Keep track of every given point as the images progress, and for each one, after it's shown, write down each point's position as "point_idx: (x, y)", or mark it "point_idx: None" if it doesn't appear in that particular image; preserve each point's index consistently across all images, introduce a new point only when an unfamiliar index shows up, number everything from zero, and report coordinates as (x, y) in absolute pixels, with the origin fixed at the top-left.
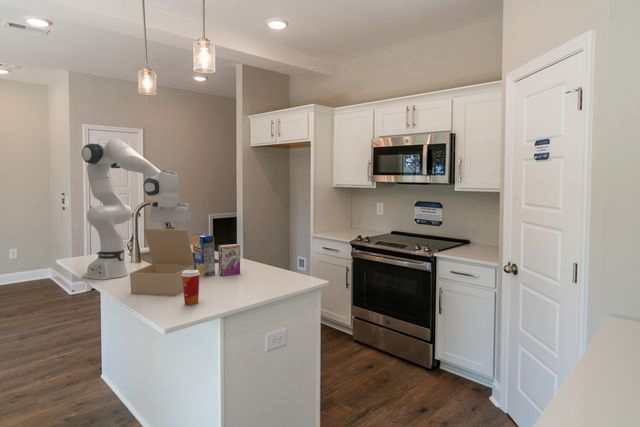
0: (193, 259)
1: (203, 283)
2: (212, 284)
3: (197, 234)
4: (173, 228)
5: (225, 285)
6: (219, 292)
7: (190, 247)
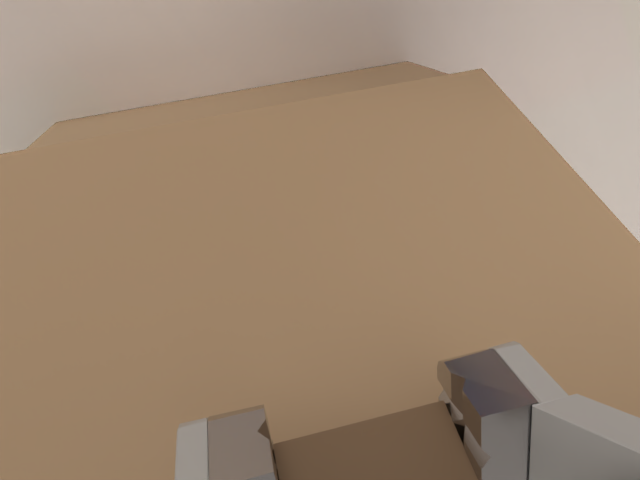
0: (510, 101)
1: (457, 7)
2: (534, 14)
3: None
4: (493, 472)
5: (631, 12)
6: (633, 177)
7: (605, 217)
